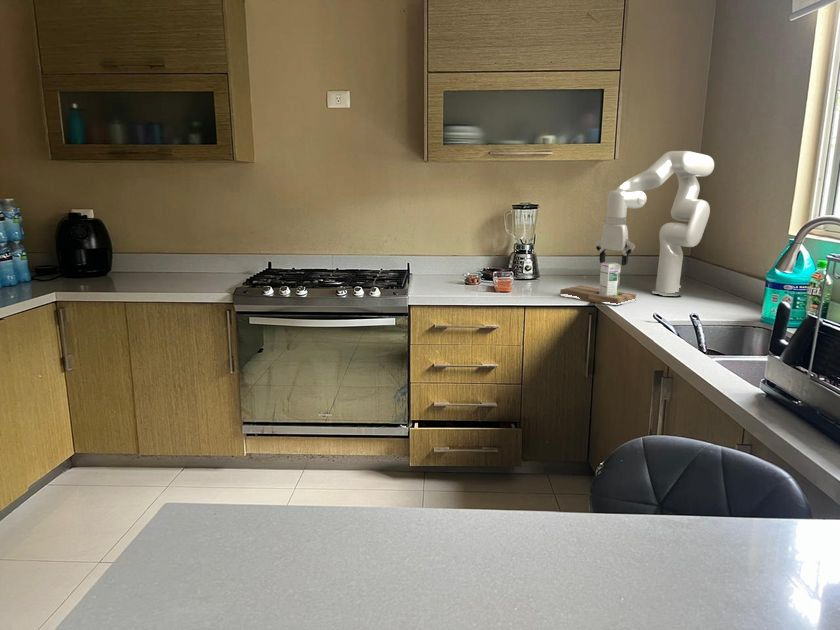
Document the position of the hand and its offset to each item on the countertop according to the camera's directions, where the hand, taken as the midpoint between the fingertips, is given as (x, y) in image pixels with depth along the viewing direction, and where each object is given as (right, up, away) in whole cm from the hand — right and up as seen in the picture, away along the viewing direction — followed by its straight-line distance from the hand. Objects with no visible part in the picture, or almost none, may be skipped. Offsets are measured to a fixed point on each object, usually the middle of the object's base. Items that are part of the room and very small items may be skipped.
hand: (613, 263), depth 252 cm
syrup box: (-1, -14, +3) cm, 15 cm away
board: (-5, -14, +6) cm, 16 cm away
